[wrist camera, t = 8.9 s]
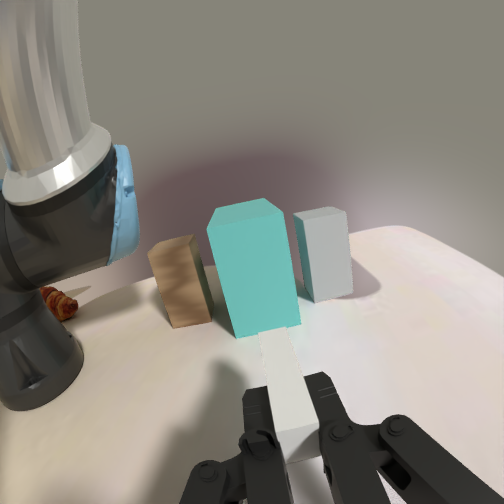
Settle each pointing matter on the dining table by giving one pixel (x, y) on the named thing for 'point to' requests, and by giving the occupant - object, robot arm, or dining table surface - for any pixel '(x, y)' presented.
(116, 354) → the dining table surface
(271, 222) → the teal block
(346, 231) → the grey block
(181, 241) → the walnut block
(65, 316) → the croissant
